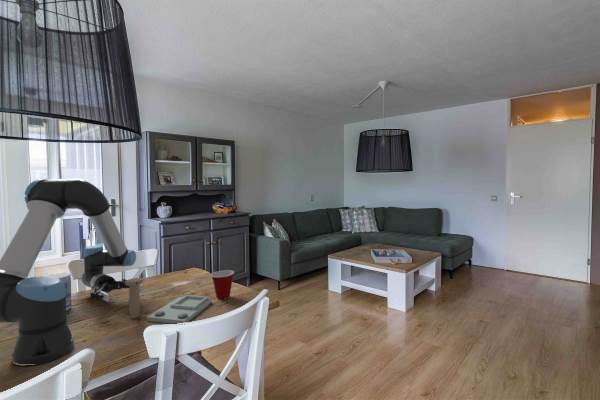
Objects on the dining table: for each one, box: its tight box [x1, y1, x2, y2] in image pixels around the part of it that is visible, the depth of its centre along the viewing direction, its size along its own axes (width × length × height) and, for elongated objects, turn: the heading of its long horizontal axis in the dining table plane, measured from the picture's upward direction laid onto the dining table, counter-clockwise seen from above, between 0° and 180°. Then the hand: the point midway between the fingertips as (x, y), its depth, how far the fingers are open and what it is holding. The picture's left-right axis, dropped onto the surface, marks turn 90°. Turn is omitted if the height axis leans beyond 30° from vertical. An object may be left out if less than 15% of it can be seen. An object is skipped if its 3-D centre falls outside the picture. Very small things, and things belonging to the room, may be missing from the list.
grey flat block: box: [146, 294, 213, 324], centre depth 132 cm, size 22×16×3 cm
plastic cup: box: [210, 269, 235, 300], centre depth 147 cm, size 11×11×12 cm
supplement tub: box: [46, 272, 72, 312], centre depth 132 cm, size 10×10×15 cm
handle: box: [125, 277, 144, 319], centre depth 125 cm, size 5×6×15 cm
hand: (126, 293), depth 130 cm, fingers open, 13 cm apart
